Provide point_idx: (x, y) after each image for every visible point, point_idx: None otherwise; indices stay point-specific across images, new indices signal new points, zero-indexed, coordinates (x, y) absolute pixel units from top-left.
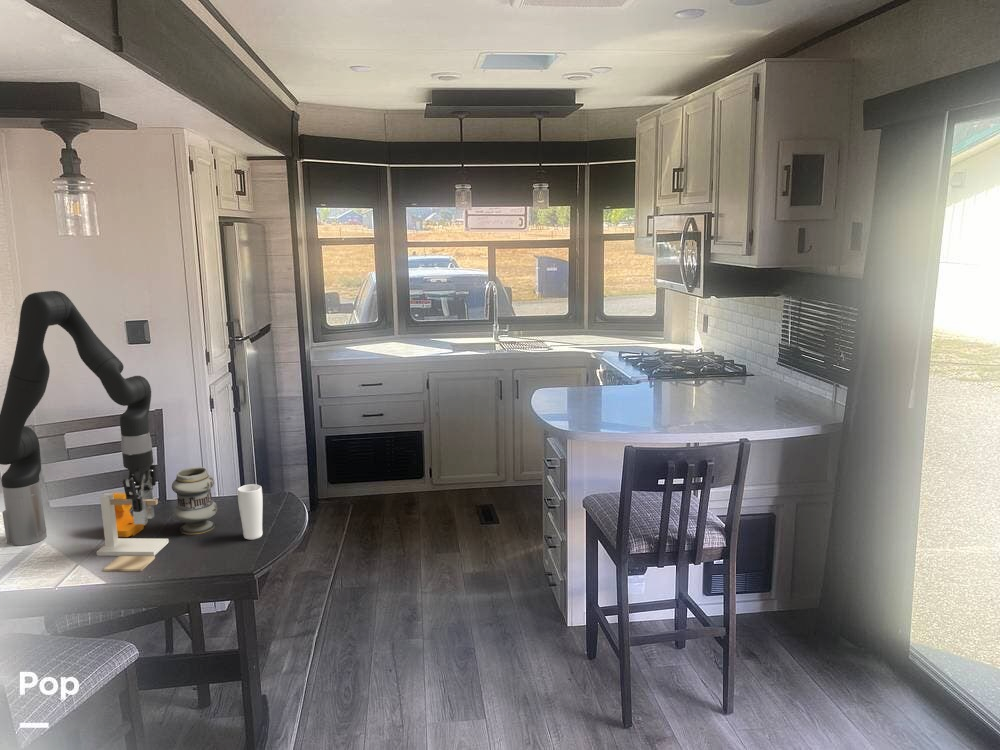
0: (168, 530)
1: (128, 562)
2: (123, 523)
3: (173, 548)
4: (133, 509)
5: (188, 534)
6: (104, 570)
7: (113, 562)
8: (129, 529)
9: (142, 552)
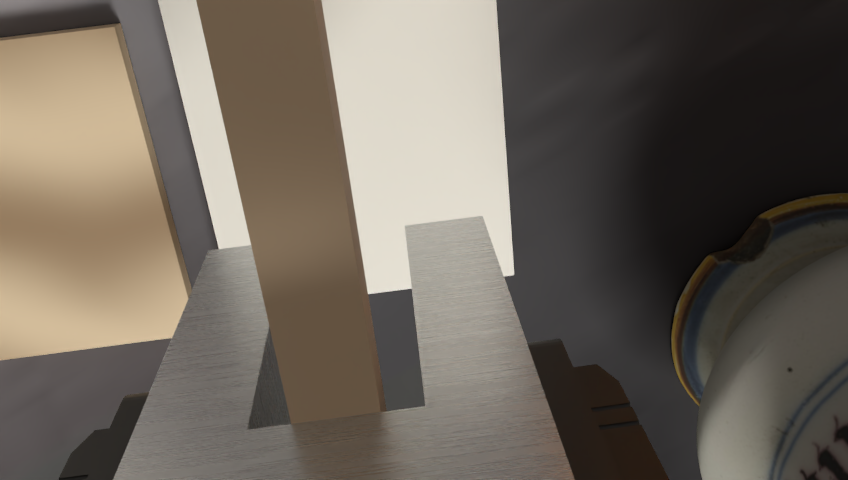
0: (774, 107)
1: (26, 200)
2: None
3: (402, 352)
4: (81, 450)
5: (673, 321)
6: None
7: None
8: None
9: (213, 219)
